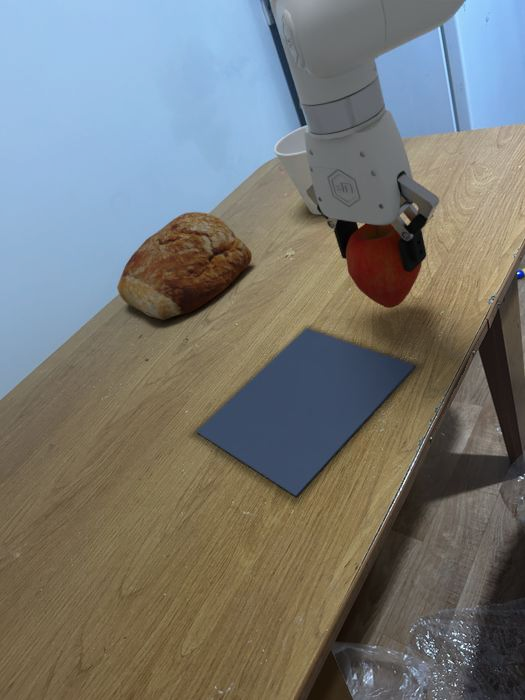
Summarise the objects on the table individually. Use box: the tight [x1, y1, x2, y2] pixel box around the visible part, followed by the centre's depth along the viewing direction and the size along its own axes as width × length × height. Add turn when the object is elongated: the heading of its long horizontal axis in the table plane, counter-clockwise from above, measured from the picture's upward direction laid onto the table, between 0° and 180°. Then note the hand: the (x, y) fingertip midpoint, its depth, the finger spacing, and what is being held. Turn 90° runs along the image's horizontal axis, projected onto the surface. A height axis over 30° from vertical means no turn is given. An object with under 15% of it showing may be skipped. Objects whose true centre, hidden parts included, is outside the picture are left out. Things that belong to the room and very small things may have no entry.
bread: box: [116, 211, 253, 321], centre depth 94 cm, size 20×18×10 cm
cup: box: [273, 124, 322, 216], centre depth 98 cm, size 12×12×12 cm
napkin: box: [196, 327, 416, 498], centre depth 66 cm, size 17×20×1 cm
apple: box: [345, 223, 423, 309], centre depth 66 cm, size 9×8×11 cm
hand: (382, 257), depth 65 cm, fingers closed on apple, 8 cm apart
